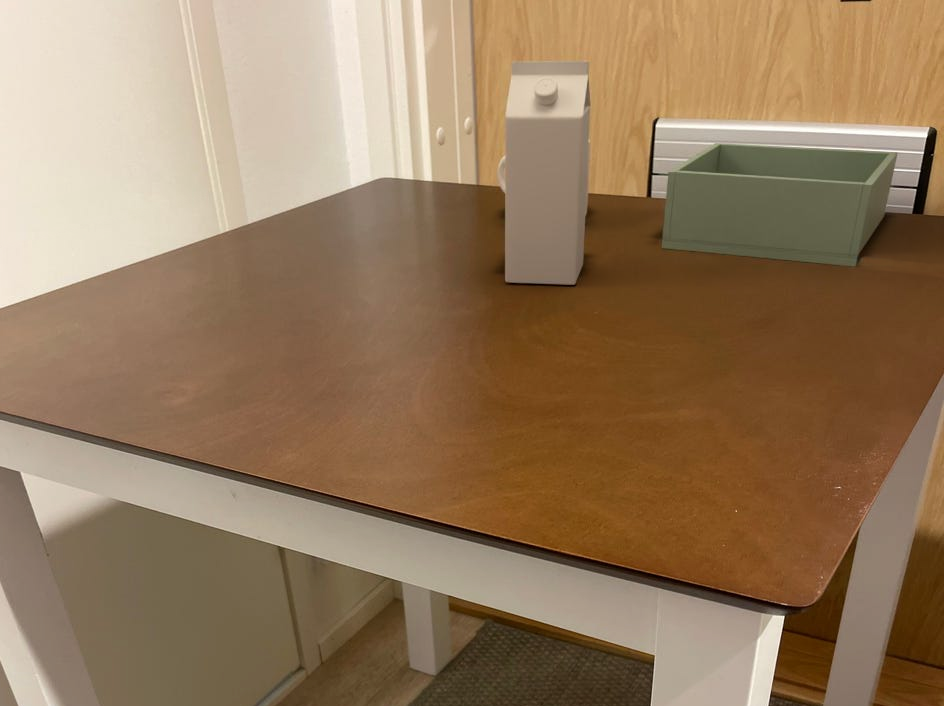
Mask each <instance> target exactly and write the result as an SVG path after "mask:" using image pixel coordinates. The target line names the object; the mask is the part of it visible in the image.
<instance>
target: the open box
mask: <svg viewBox="0 0 944 706" xmlns="http://www.w3.org/2000/svg"><path fill="white" fill-rule="evenodd" d="M897 158H898V152H897V151H896V152H894V151H878V150H877V151H875V150H874V151H873V150H858V149H857V150H855V149H839V148H837V149H836V148H821V147H820V148H819V147H818V148H817V147H801V146H780V145H761V144H742V143H724V142H723V143H721V142H715V143H713V144H712V145H710V146H709V147H707V148H704V149H703V150H702V151H700V152H699V153H697V154H695V155H693V156H692V157H690V158H689V159H687V160H685V161H683V162H681V163H680V164H679V165H677V166H675V167H674V168H671V170H669V171H668V173H667V182H666V183H667V184H666V193H665V194H666V195H665V205H664V217H663V228H662V239H661V249H666V250H675V251H676V250H677V251H685V252H697V253H707V254H716V255H717V254H718V255H729V256H737V257H738V256H739V257H748V258H758V259H759V258H760V259H768V260H769V259H770V260H781V261H789V262H800V263H809V264H810V263H811V264H819V265H820V264H821V265H831V266H841V267H851V268H852V267H854V268H856V267H857V265H858V264H859V262H860V260H861V259H862V257H863V255H859V254H860V253H861V251H862V250H863V248H864V247H865V245H866V244H867V242H868V241H869V240H870V238H871V237H872V235H873V233H874V232H875V230H876V229H877V228H878V226H879V225H880V223H881V222H882V220H883V219H884V217H885V214H886V210H887V205H888V200H889V196H890V191H891V186H892V181H893V177H894V172H895V167H896V163H897Z"/></svg>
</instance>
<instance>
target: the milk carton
mask: <svg viewBox="0 0 944 706" xmlns="http://www.w3.org/2000/svg"><path fill="white" fill-rule="evenodd" d="M589 70H590V61H589V60H571V61H568V60H567V61H566V60H565V61H563V60H562V61H561V60H559V61H557V60H556V61H554V60H553V61H552V60H551V61H549V60H548V61H544V60H543V61H511V76H510V81H509V82H510V83H509V89H508V95H507V102H506V108H505V116H504V117H505V118H504V119H505V121H504V122H505V123H504V124H505V125H504V127H505V132H504V133H505V135H504V137H505V139H504V141H505V142H504V143H505V144H504V145H505V146H504V148H505V149H504V150H505V151H504V153H505V155H504V156H505V168H504V179H505V193H504V194H505V195H504V199H505V200H504V206H505V207H504V208H505V209H504V211H505V212H504V214H505V215H504V232H505V233H504V279H505V283H513V284H514V283H515V284H537V285H538V284H542V285H569V286H571V285H572V286H573V285H576V283H577V281H578V278H579V276H580V273H581V271H582V268H583V265H584V253H585V231H586V216H585V211H586V190H587V168H588V147H589V139H590V125H591V123H590V122H591V121H590V120H591V93H590V78H589Z"/></svg>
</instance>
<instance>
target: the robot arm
mask: <svg viewBox="0 0 944 706" xmlns="http://www.w3.org/2000/svg"><path fill="white" fill-rule="evenodd" d="M839 2H840V3H855V2H857V3H858V2H859V3H860V2H872V0H840V1H839Z"/></svg>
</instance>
